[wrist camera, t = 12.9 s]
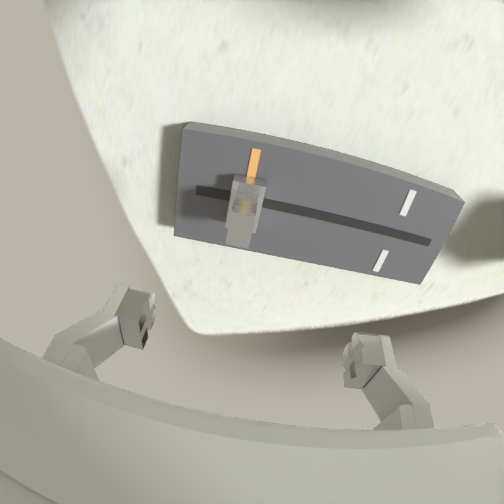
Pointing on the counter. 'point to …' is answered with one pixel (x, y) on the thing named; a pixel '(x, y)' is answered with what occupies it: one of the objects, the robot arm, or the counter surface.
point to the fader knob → (244, 209)
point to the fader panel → (314, 203)
